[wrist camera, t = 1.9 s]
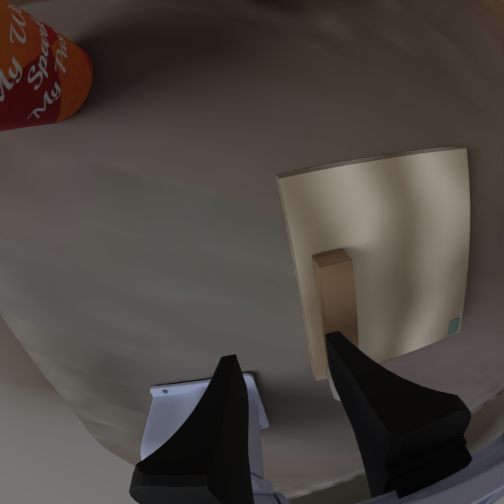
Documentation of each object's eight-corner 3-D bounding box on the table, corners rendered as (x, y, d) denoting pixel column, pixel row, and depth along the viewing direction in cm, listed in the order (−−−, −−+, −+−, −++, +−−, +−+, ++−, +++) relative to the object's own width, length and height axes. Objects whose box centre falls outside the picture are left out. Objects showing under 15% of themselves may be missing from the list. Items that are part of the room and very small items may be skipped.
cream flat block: (311, 365, 25) (316, 381, 23) (275, 175, 19) (279, 178, 17) (448, 320, 24) (460, 332, 22) (450, 146, 19) (467, 148, 17)
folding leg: (354, 374, 23) (364, 395, 20) (326, 381, 23) (333, 404, 20) (344, 247, 19) (359, 263, 16) (308, 256, 19) (318, 273, 16)
